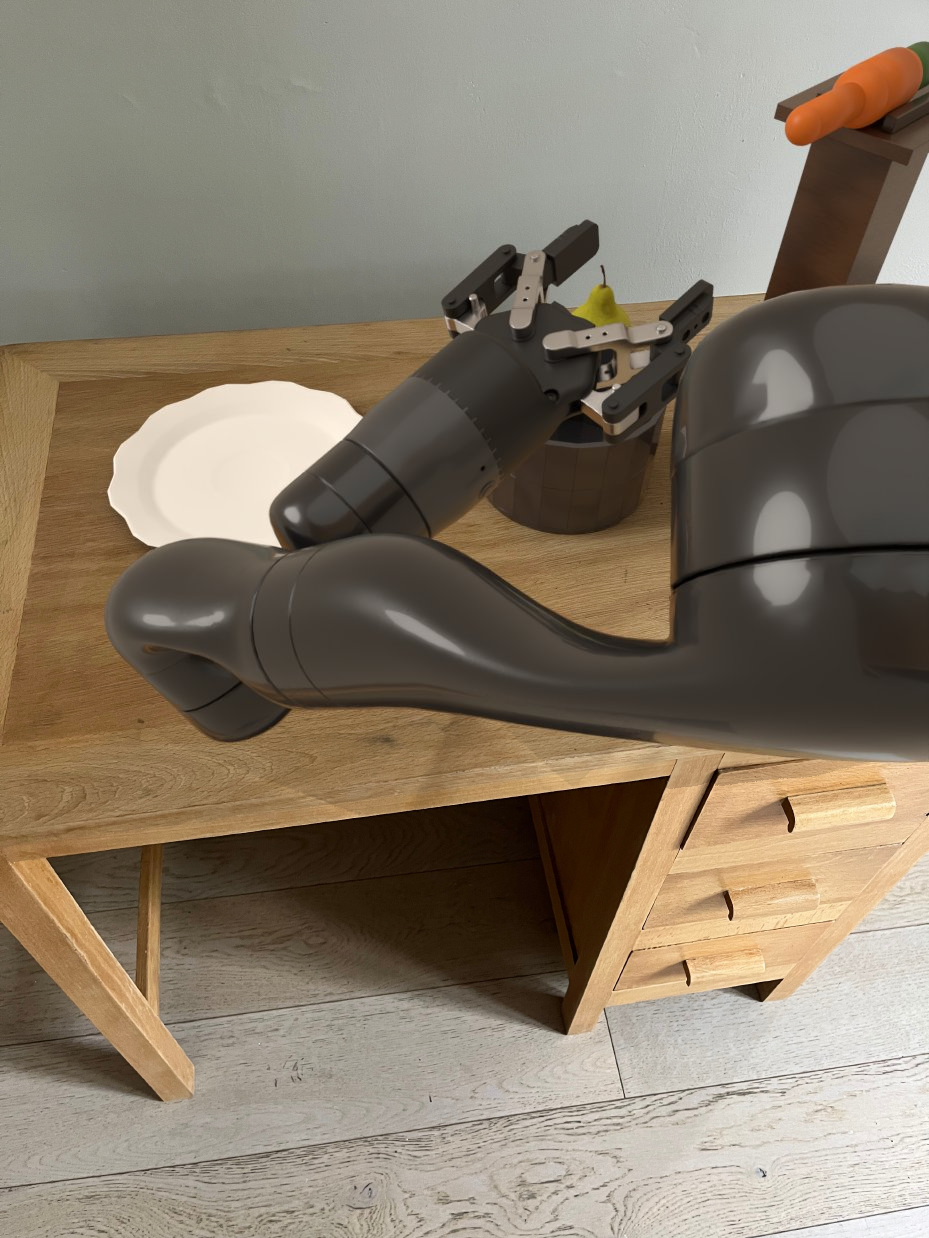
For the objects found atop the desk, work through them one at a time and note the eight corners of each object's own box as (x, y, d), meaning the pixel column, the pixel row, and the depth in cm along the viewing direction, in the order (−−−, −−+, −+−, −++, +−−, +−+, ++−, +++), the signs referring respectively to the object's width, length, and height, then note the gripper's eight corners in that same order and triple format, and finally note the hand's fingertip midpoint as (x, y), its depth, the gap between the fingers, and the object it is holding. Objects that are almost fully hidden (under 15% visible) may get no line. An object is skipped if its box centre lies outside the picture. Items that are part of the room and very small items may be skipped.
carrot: (932, 101, 59) (967, 47, 56) (802, 175, 52) (833, 117, 49) (891, 74, 60) (923, 19, 57) (757, 143, 53) (785, 83, 50)
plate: (424, 430, 86) (423, 415, 85) (303, 608, 71) (300, 593, 70) (210, 373, 92) (206, 358, 90) (58, 527, 77) (50, 512, 76)
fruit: (584, 337, 97) (597, 232, 87) (637, 358, 94) (656, 253, 85) (550, 365, 93) (560, 260, 84) (604, 389, 91) (621, 283, 81)
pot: (682, 476, 82) (705, 389, 74) (568, 562, 75) (580, 475, 67) (557, 400, 89) (567, 313, 82) (443, 471, 82) (441, 383, 75)
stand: (838, 465, 83) (1008, 88, 57) (774, 520, 78) (927, 135, 53) (744, 413, 88) (861, 45, 62) (677, 462, 83) (775, 84, 58)
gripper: (532, 462, 40) (758, 258, 43) (345, 328, 46) (554, 159, 49) (548, 547, 46) (743, 364, 50) (382, 419, 53) (564, 265, 56)
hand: (648, 262), depth 50 cm, fingers open, 8 cm apart
